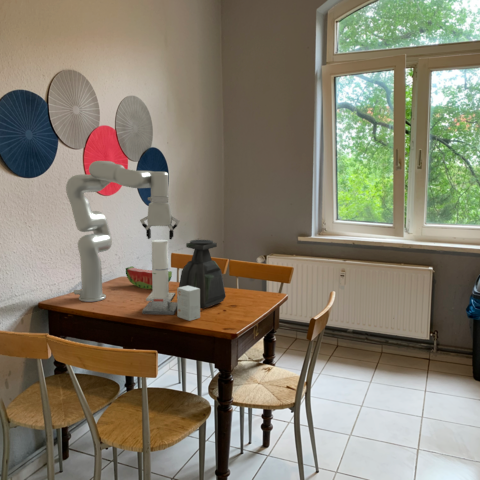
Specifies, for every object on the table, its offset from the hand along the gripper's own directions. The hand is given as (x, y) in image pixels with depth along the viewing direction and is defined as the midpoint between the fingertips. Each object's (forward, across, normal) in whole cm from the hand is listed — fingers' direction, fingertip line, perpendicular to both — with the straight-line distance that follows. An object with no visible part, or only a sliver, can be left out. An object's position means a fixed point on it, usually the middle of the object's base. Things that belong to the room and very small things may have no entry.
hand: (160, 238), depth 203 cm
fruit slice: (+33, -14, +38) cm, 52 cm away
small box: (+33, +14, -10) cm, 37 cm away
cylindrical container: (+26, 0, 0) cm, 26 cm away
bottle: (+33, +17, +11) cm, 38 cm away
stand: (+32, 0, 0) cm, 33 cm away
